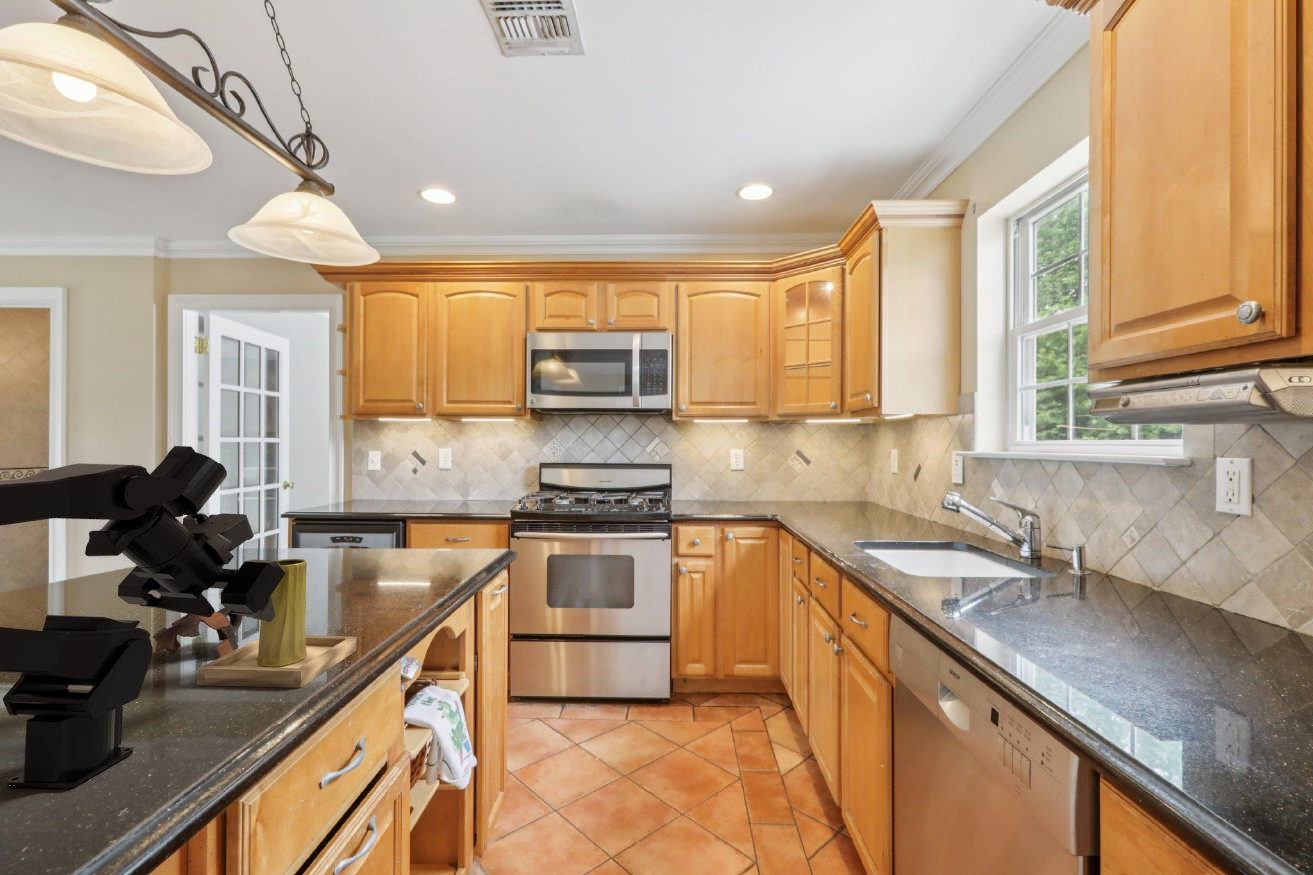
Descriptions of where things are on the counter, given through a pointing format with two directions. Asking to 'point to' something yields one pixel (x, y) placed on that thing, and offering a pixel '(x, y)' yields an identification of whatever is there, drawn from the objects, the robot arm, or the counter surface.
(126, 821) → the counter surface
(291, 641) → the vase
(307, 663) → the maple tray
